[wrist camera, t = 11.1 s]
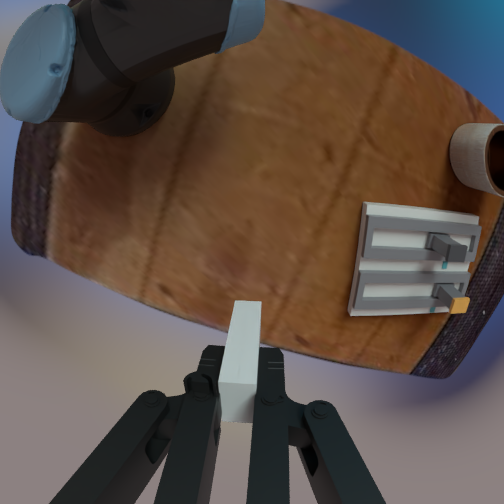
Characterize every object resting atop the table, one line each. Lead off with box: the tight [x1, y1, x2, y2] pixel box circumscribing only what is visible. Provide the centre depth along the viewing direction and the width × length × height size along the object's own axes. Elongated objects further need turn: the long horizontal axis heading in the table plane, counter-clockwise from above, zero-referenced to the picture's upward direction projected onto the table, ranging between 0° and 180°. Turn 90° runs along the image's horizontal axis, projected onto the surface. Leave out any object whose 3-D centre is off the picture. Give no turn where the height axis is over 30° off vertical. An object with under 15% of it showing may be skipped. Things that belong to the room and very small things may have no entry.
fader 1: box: [426, 233, 468, 262], centre depth 36 cm, size 2×4×6 cm, turn 89°
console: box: [347, 202, 482, 316], centre depth 41 cm, size 18×22×3 cm
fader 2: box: [432, 283, 470, 314], centre depth 39 cm, size 2×4×6 cm, turn 89°
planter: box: [450, 123, 504, 197], centre depth 31 cm, size 11×11×10 cm
